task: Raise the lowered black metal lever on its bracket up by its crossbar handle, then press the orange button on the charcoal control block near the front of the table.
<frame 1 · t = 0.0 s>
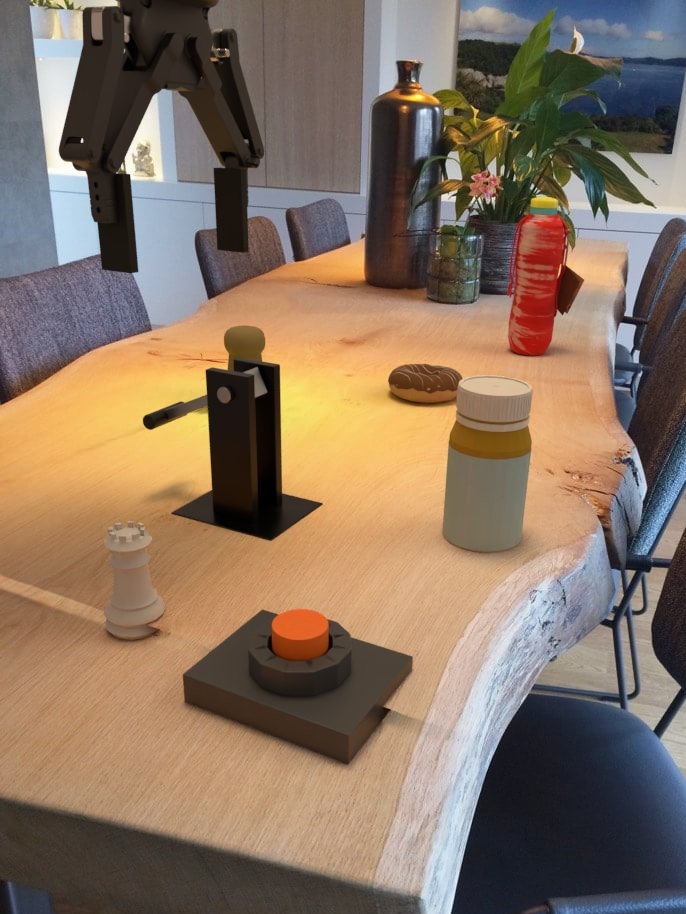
hand: (181, 260, 65), 24 cm above the table, tool pointing down, fingers open, 13 cm apart
water bottle: (536, 353, 142), on the table
rook chess piece: (137, 627, 61), on the table
control block: (300, 692, 55), on the table
donut: (425, 396, 117), on the table
lever: (206, 400, 75), point 11 cm above the table, hinge at -25.0°
bracket: (248, 520, 78), on the table
button: (300, 635, 53), point 4 cm above the table, slide at 0.1 cm
cork: (247, 412, 108), on the table
bottle: (480, 548, 75), on the table
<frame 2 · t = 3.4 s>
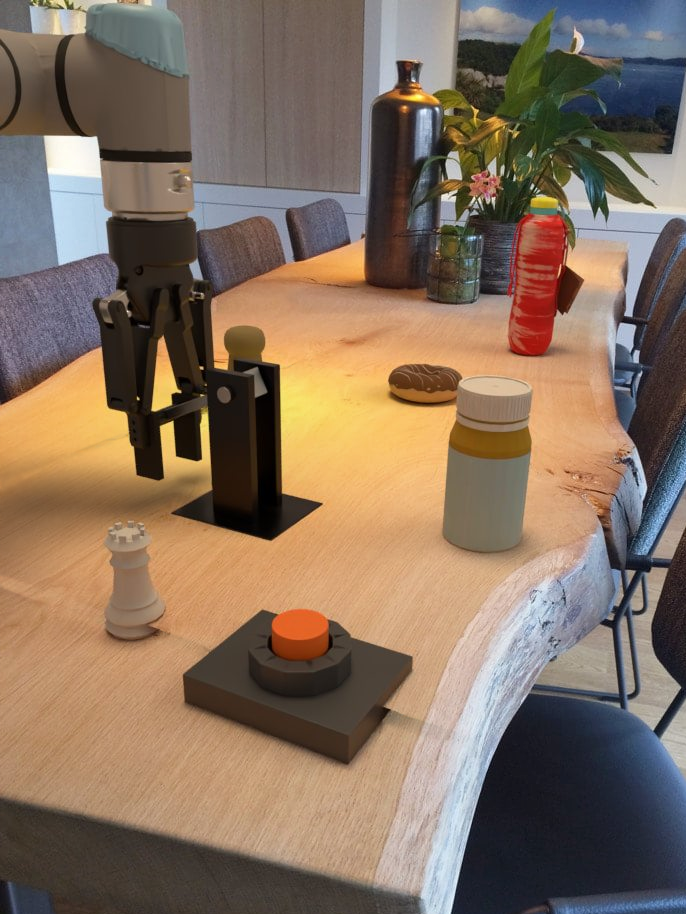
hand: (170, 466, 80), 4 cm above the table, tool pointing down, fingers closed on lever, 5 cm apart
lever: (206, 400, 75), point 11 cm above the table, hinge at -25.0°, touching gripper
everything else where it was.
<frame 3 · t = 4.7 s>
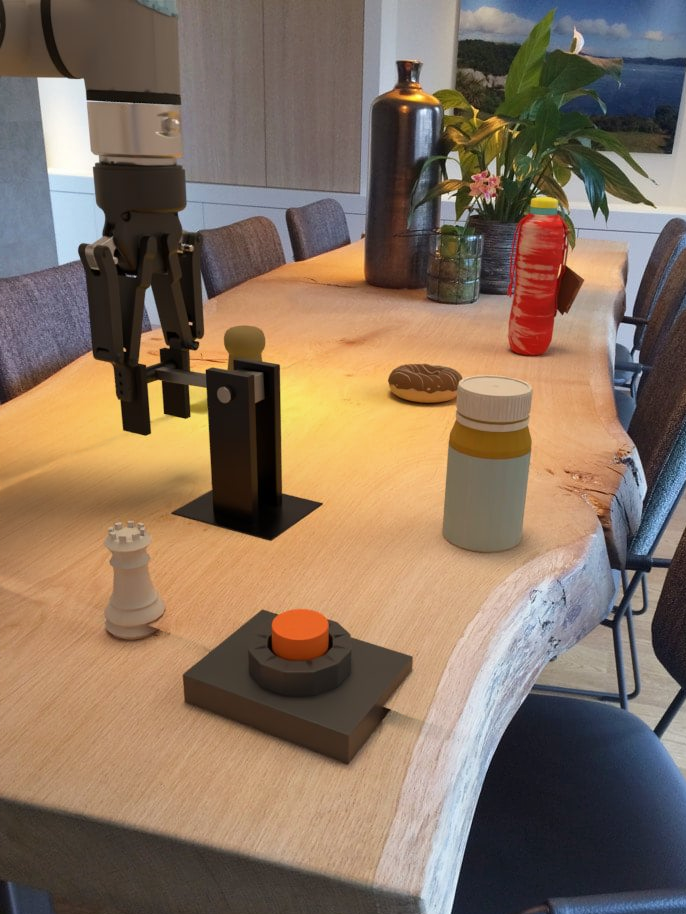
hand: (157, 423, 79), 8 cm above the table, tool pointing down, fingers closed on lever, 5 cm apart
lever: (201, 380, 75), point 13 cm above the table, hinge at -1.2°, touching gripper
everything else where it was.
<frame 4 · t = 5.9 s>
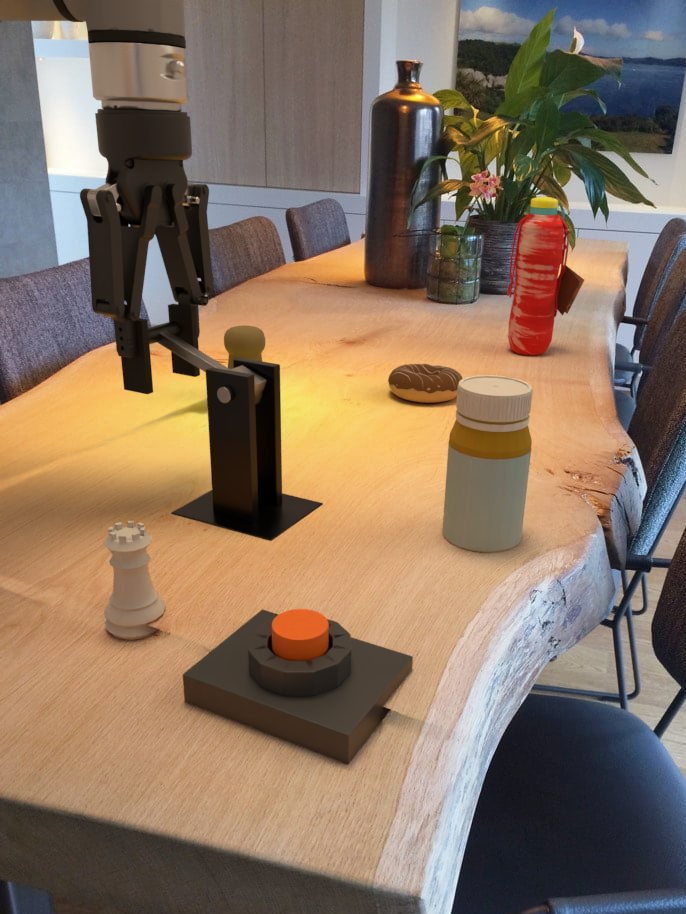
hand: (163, 381, 77), 12 cm above the table, tool pointing down, fingers open, 6 cm apart
lever: (202, 361, 74), point 15 cm above the table, hinge at 20.5°
everything else where it was.
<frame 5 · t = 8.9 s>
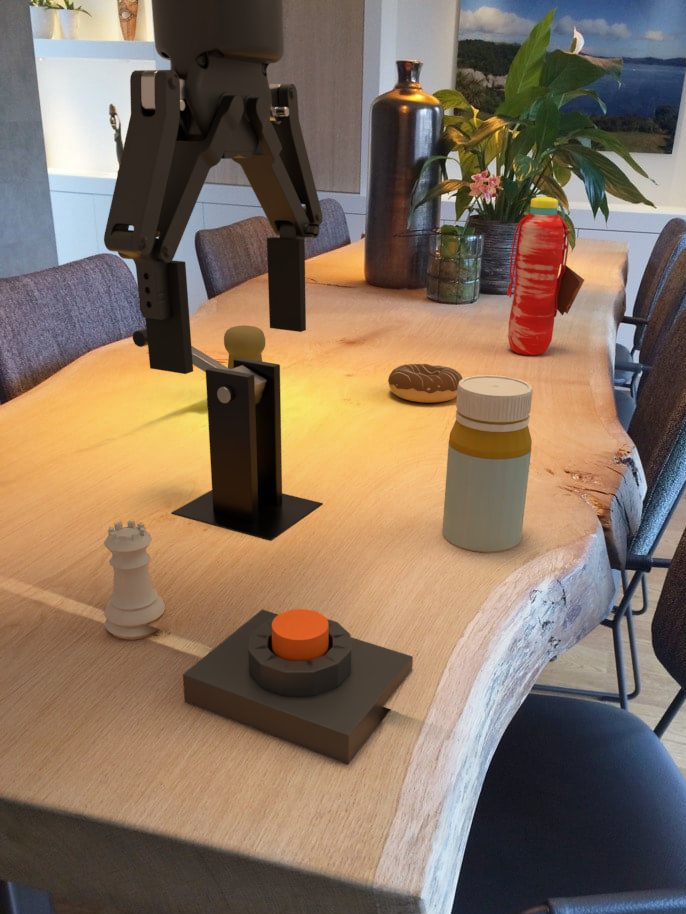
hand: (235, 348, 56), 20 cm above the table, tool pointing down, fingers open, 13 cm apart
nothing on the table moved.
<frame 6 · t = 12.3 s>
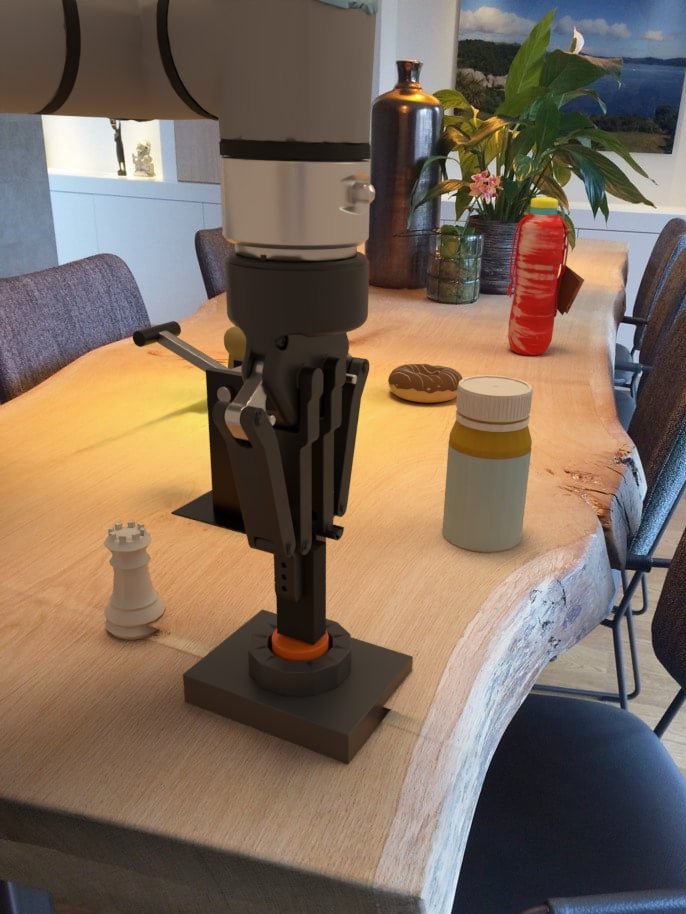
hand: (301, 633, 53), 5 cm above the table, tool pointing down, fingers closed
button: (300, 647, 53), point 4 cm above the table, slide at -0.8 cm, touching gripper
everything else where it was.
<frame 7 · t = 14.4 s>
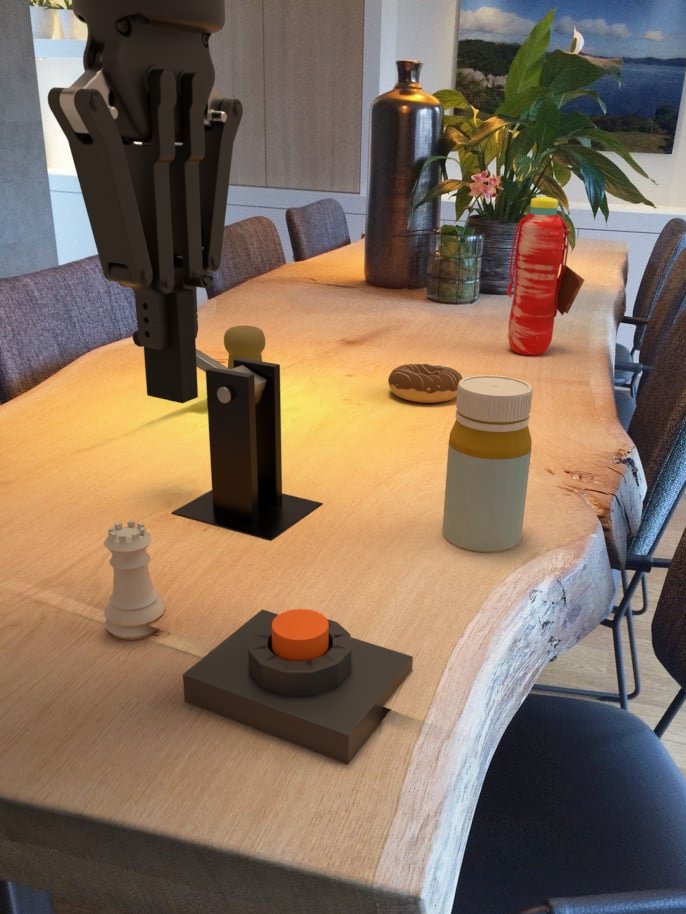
hand: (172, 396, 51), 19 cm above the table, tool pointing down, fingers closed
button: (300, 635, 53), point 4 cm above the table, slide at 0.1 cm
everything else where it was.
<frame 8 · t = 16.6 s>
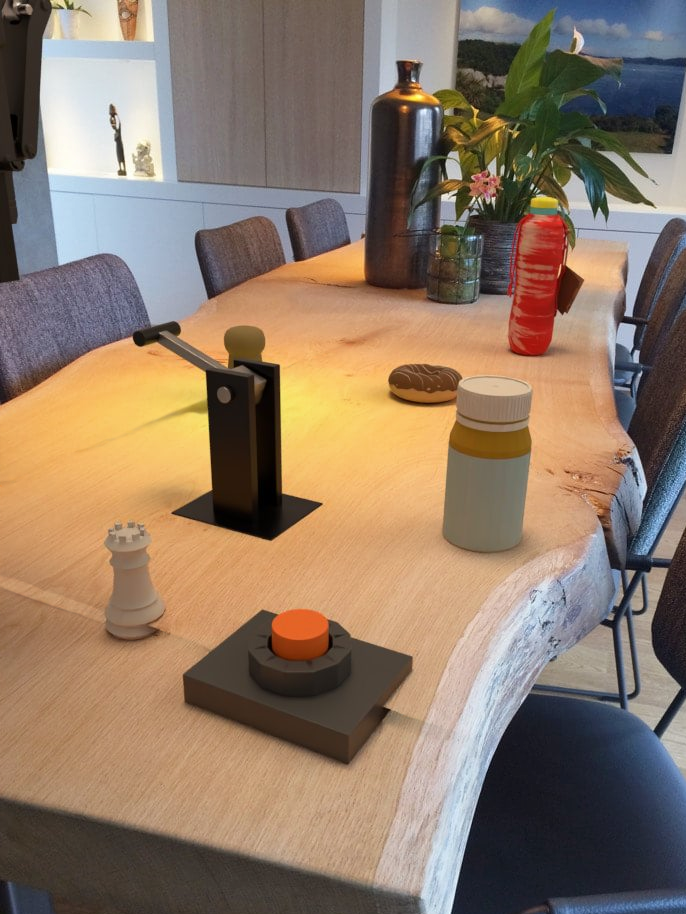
nothing on the table moved.
at the end: lever at +20° (first picture: -25°); button pushed in 1.0 cm at the most during the clip, back to where it started at the end; button slide at 0.1 cm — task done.
